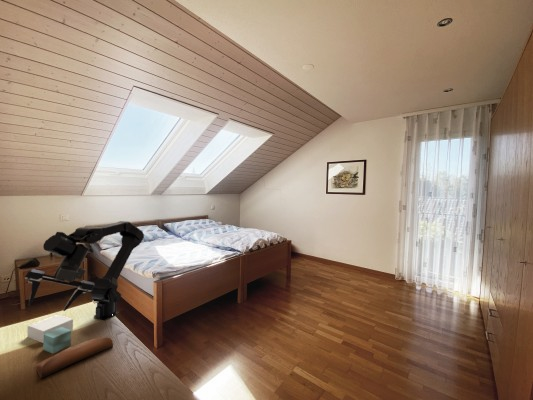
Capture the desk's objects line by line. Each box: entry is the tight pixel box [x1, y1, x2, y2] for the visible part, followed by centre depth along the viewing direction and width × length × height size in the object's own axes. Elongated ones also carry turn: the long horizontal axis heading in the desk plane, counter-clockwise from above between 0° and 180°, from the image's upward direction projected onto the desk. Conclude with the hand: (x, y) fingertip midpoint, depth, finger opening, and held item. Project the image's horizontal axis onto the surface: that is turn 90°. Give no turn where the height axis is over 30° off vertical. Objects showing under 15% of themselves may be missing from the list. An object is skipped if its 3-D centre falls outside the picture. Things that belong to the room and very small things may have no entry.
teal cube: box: [42, 327, 72, 355], centre depth 79 cm, size 5×5×5 cm
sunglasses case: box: [34, 336, 114, 380], centre depth 75 cm, size 18×7×7 cm, turn 146°
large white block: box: [27, 313, 74, 344], centre depth 87 cm, size 9×9×4 cm
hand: (47, 308), depth 78 cm, fingers open, 9 cm apart
